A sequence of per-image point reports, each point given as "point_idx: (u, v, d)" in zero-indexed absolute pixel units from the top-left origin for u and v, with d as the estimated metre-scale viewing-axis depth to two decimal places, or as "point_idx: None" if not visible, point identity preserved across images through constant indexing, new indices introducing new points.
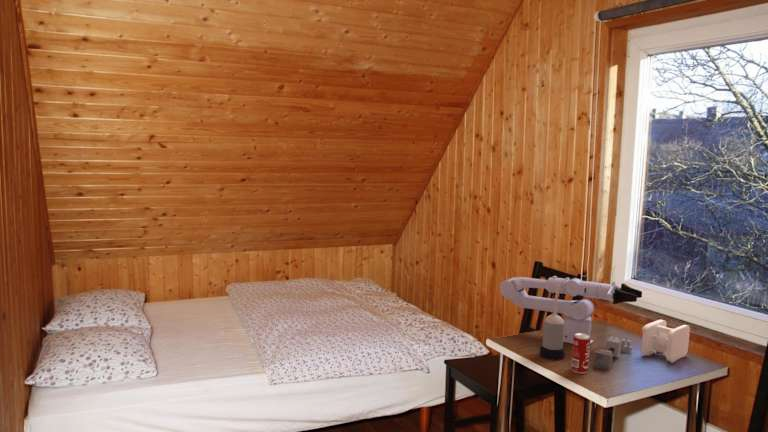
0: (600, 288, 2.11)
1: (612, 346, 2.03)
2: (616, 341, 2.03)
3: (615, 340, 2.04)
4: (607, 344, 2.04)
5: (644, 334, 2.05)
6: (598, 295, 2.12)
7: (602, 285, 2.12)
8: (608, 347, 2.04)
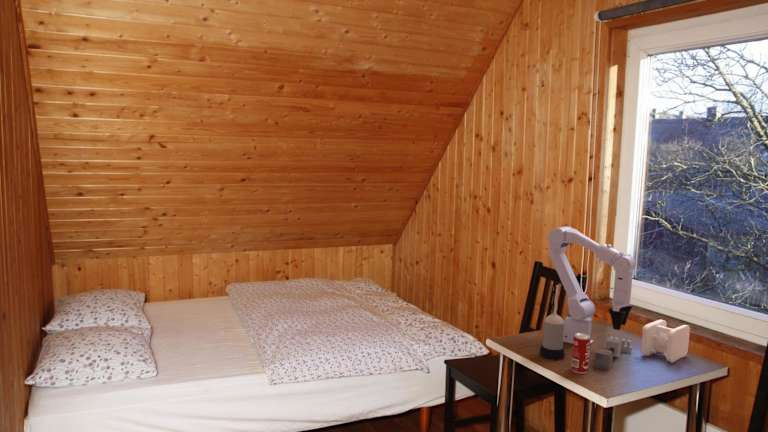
0: (624, 294, 2.05)
1: (612, 346, 2.03)
2: (616, 341, 2.03)
3: (615, 340, 2.04)
4: (607, 344, 2.04)
5: (644, 334, 2.05)
6: (616, 291, 2.06)
7: (628, 295, 2.05)
8: (608, 347, 2.04)
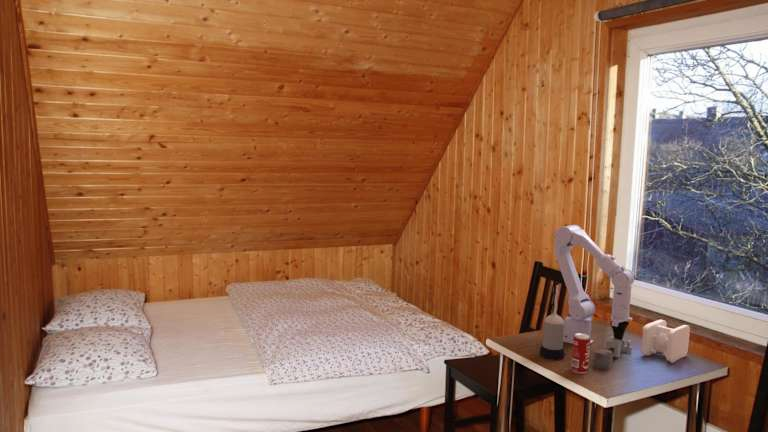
0: (623, 308, 2.05)
1: (612, 346, 2.03)
2: (616, 341, 2.03)
3: (615, 340, 2.04)
4: (607, 344, 2.04)
5: (644, 334, 2.05)
6: (615, 306, 2.07)
7: (627, 310, 2.05)
8: (608, 347, 2.04)
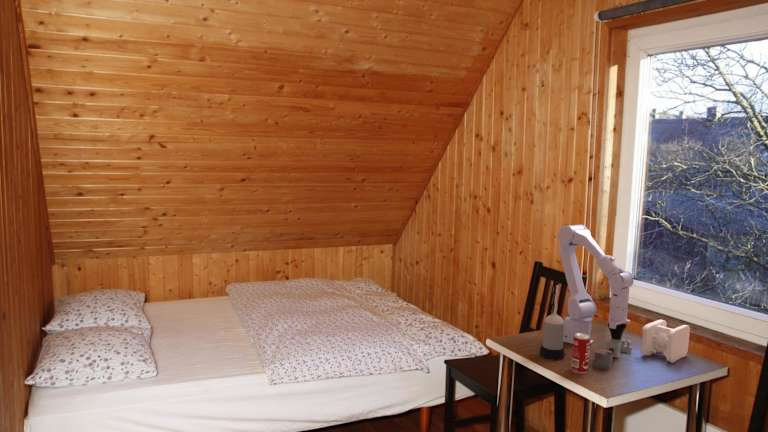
0: (621, 311, 2.03)
1: (612, 346, 2.03)
2: (615, 342, 2.03)
3: (615, 340, 2.04)
4: (607, 344, 2.04)
5: (644, 334, 2.05)
6: (613, 308, 2.04)
7: (624, 312, 2.03)
8: (608, 347, 2.04)
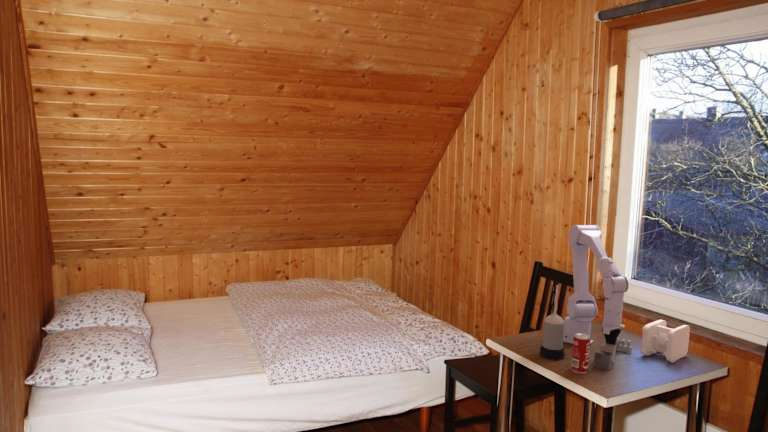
0: (615, 315, 1.97)
1: None
2: (610, 347, 1.97)
3: (610, 345, 1.99)
4: None
5: (644, 334, 2.05)
6: (607, 312, 1.98)
7: (619, 317, 1.97)
8: None
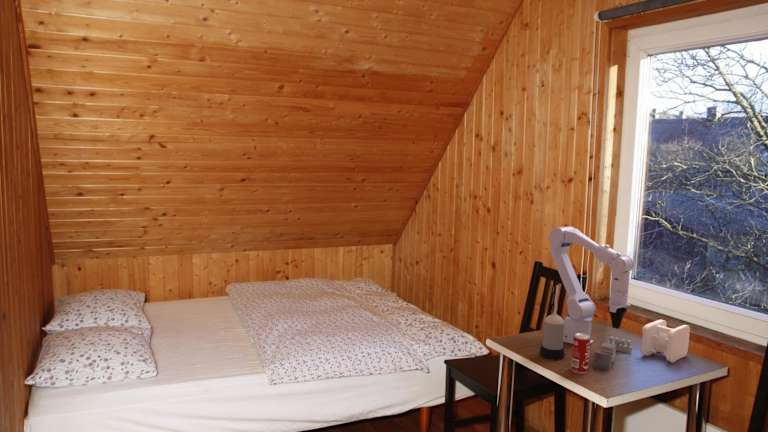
0: (621, 294, 2.03)
1: None
2: (610, 347, 1.97)
3: (610, 345, 1.99)
4: None
5: (644, 334, 2.05)
6: (613, 292, 2.05)
7: (625, 296, 2.04)
8: None
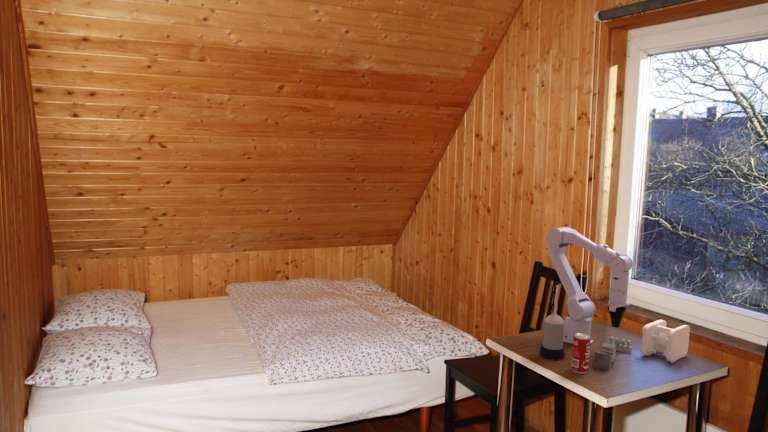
0: (620, 294, 2.04)
1: None
2: (610, 347, 1.97)
3: (610, 345, 1.99)
4: None
5: (644, 334, 2.05)
6: (613, 291, 2.06)
7: (624, 295, 2.05)
8: None
